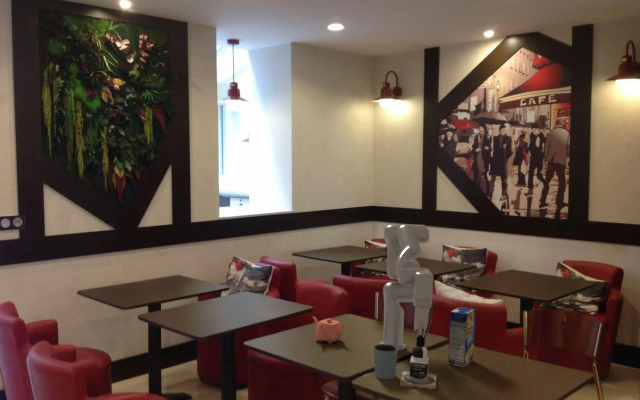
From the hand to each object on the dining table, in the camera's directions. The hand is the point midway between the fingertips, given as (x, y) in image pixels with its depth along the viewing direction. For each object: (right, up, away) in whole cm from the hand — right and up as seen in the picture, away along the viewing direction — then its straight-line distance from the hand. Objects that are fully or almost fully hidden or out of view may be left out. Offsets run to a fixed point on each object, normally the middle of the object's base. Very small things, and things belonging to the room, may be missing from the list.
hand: (420, 346), depth 239 cm
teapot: (-38, -10, +49) cm, 63 cm away
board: (0, -15, +1) cm, 15 cm away
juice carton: (+23, -14, +26) cm, 37 cm away
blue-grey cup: (-14, -14, +7) cm, 21 cm away
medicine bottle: (0, -13, +1) cm, 13 cm away
